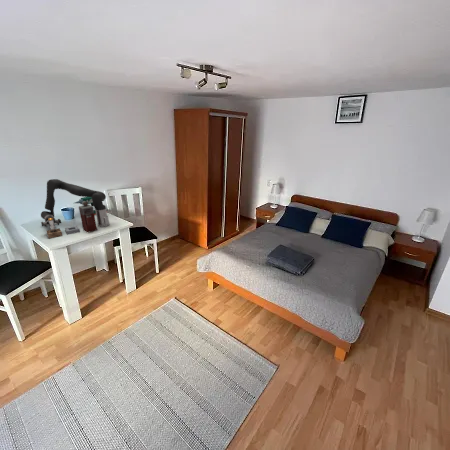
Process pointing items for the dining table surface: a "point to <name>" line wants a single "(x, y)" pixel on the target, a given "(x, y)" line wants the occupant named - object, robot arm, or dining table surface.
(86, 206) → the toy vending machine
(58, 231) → the walnut rack
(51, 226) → the steel peg
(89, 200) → the power tool
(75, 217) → the dining table surface
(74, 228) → the socket block
